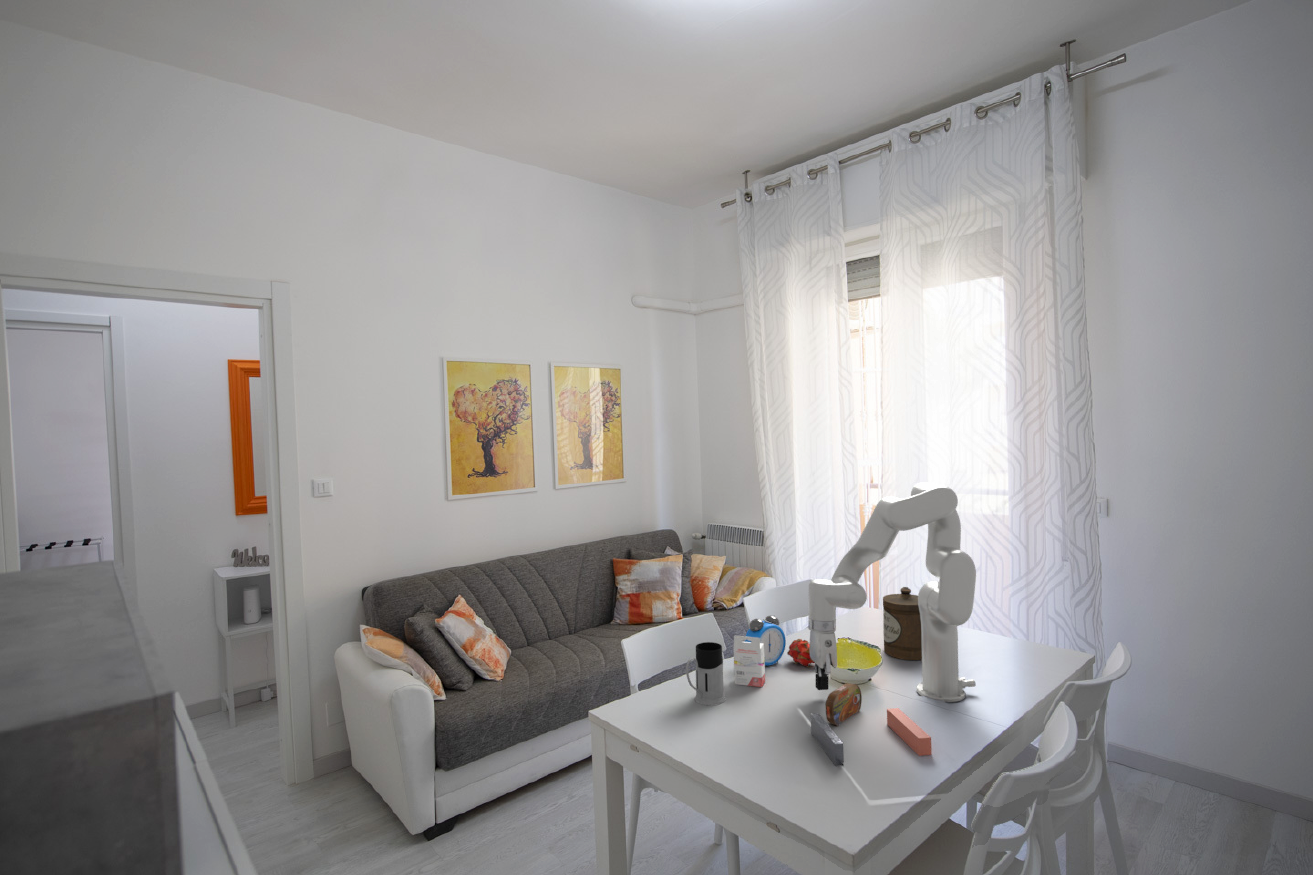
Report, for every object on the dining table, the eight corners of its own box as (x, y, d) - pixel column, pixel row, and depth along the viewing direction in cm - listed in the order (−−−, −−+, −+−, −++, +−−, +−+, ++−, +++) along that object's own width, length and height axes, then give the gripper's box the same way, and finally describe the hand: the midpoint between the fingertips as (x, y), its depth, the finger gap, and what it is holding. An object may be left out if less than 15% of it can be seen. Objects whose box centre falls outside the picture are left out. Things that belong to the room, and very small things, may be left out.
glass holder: (731, 697, 186) (730, 645, 186) (700, 714, 176) (698, 659, 176) (707, 689, 192) (706, 639, 192) (675, 705, 182) (674, 652, 182)
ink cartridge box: (765, 681, 197) (764, 633, 197) (762, 687, 193) (760, 638, 193) (738, 678, 201) (736, 630, 200) (733, 684, 196) (732, 635, 196)
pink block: (898, 723, 166) (898, 707, 166) (931, 754, 150) (931, 737, 150) (887, 724, 166) (886, 708, 166) (919, 755, 150) (918, 738, 150)
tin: (834, 731, 164) (833, 698, 164) (823, 727, 167) (822, 695, 166) (863, 712, 175) (862, 680, 175) (852, 708, 177) (851, 677, 177)
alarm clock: (756, 670, 207) (755, 623, 206) (743, 664, 212) (742, 618, 212) (786, 661, 213) (785, 616, 213) (774, 656, 219) (772, 611, 218)
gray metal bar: (818, 732, 164) (818, 712, 164) (843, 765, 148) (843, 743, 148) (811, 733, 164) (810, 713, 164) (835, 765, 148) (834, 743, 148)
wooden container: (879, 645, 227) (878, 582, 227) (924, 645, 225) (923, 582, 225) (889, 660, 213) (887, 592, 212) (936, 661, 210) (935, 593, 210)
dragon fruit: (789, 663, 217) (819, 678, 208) (777, 653, 211) (807, 668, 203) (800, 639, 219) (830, 653, 210) (789, 630, 214) (819, 643, 205)
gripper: (845, 631, 177) (845, 699, 178) (825, 616, 192) (825, 678, 193) (818, 632, 177) (818, 700, 177) (800, 617, 191) (800, 679, 192)
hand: (821, 688), depth 185 cm, fingers closed
